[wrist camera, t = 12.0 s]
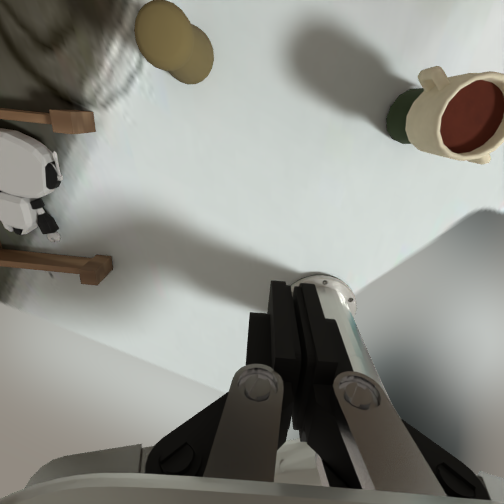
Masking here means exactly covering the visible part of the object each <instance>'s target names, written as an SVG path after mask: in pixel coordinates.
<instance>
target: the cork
mask: <svg viewBox="0 0 504 504" xmlns="http://www.w3.org/2000/svg"><path fill="white" fill-rule="evenodd" d="M134 32H135V38H136V43H137V45H138V47H139V50H140V52H141V53H142V55H143V56H144V57H145V59H146V60H147V61H148V62H149V63H151V64H152V65H153V66H155V67H156V68H159V69H162V70H165V71H169V72H170V73H171V75H172V76H173V77H174V78H176V79H177V80H179V81H180V82H182V83H185V84H196V83H199V82H201V81H203V80H204V79H205V78H206V77H207V76H208V75H209V73H210V71H211V69H212V65H213V61H214V55H213V48H212V45H211V42H210V40H209V38H208V37H207V35H206V34H205V33H204V32H203V31H202V30H201V29H199V28H198V27H196V26H194V25H192V24H190V21H189V20H188V18H187V17H186V15H185V14H184V12H183V11H182V10H181V9H180V8H179V7H177V6H176V5H175V4H174V3H171V2H168V1H166V0H153V1H151V2H148V3H146V4H145V5H144V6H143V7H142V8H141V9H140V11H139V13H138V15H137V17H136V20H135V29H134Z"/></svg>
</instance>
